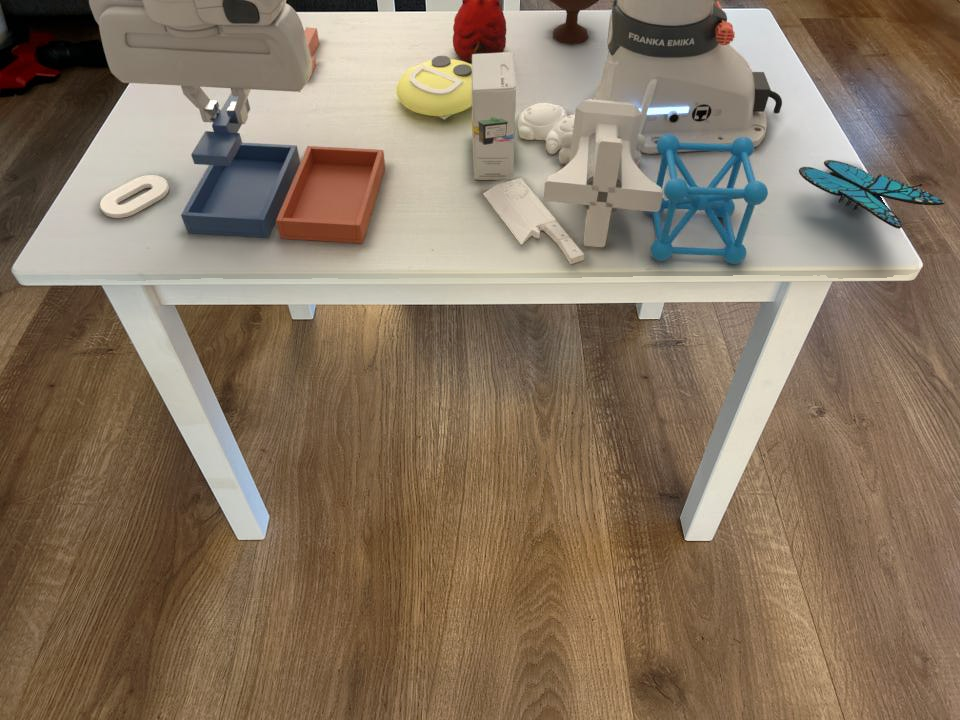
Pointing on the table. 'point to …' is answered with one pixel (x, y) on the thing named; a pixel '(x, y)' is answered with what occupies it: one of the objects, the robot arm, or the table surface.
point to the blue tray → (243, 192)
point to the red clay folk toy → (479, 29)
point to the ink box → (493, 115)
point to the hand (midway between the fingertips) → (226, 120)
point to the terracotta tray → (332, 195)
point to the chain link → (155, 194)
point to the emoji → (437, 87)
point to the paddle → (219, 139)
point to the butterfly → (866, 189)
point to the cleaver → (529, 216)
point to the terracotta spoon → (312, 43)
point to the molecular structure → (705, 198)
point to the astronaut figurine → (545, 124)
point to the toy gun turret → (603, 164)
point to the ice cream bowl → (572, 21)
